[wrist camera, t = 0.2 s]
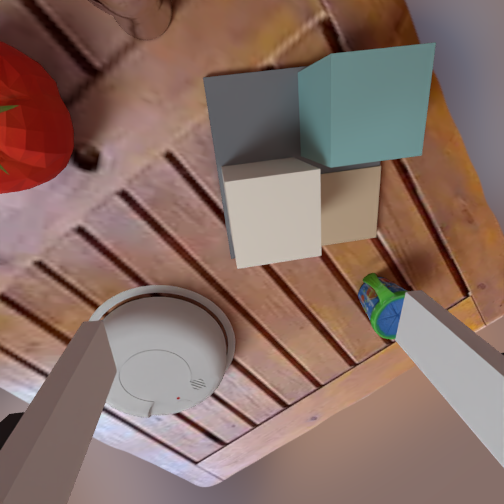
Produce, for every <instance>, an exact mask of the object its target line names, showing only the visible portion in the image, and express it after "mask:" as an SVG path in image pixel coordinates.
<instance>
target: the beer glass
mask: <svg viewBox="0 0 504 504" xmlns="http://www.w3.org/2000/svg"><path fill="white" fill-rule="evenodd" d="M88 1H89V2H90V3H91V4H93V5H94V6H95V7H97V8H99V9H100V10H102V11H104V12H105V13H107V14H109V15H112V16H113V17H114V19H115V20H116V22H117V23H118V25H119V26H120V27H121V28H122V29H123V30H124V31H125V32H126V33H127V34H129V35H130V36H132V37H134V38H137V39H140V40H152V39H155V38H157V37H159V36H161V35H162V34H163V33H164V32H165V31H166V29H167V28H168V26H169V23H170V21H171V17H172V1H171V0H88Z"/></svg>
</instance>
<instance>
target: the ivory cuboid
mask: <svg viewBox="0 0 504 504" xmlns="http://www.w3.org/2000/svg"><path fill="white" fill-rule="evenodd" d="M221 169H222V176H223V183H224V189H225V196H226V203H227V210H228V216H229V223H230V230H231V236H232V242H233V247H234V253H235V258H236V264H237V269H239V268H246V267H252V266H259V265H265V264H271V263H278V262H284V261H290V260H297V259H303V258H309V257H316V256H321V182H320V169H319V168H317V167H314V166H312V165H310V164H308V163H305V162H303V161H301V160H298V159H296V158H294V157H291V158H284V159H276V160H268V161H261V162H253V163H246V164H238V165H230V166H223V167H221Z"/></svg>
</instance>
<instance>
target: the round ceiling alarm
mask: <svg viewBox="0 0 504 504" xmlns="http://www.w3.org/2000/svg"><path fill="white" fill-rule="evenodd" d="M148 293H170V294H176V295H181V296H184V297H187V298H191V299H193V300H195V301H197V302H199V303H201V304H202V305H204V306H206V307H207V308H208V309H209V310H211V311H212V312H213V313H214V314H215V315H216V316H217V317H218V319H219V320H220V321H221V323H222V324H223V326H224V329H225V331H226V334H227V338H228V351H227V354H226V343H225V337H224V334H223V332H222V330H221V328H220V326H219V325H218V323H217V322H216V320H215V319H214V318H213V317H212V316H211V315H210V314H208V313H207V312H206V311H205V310H203V309H202V308H200V307H198V306H196V305H194V304H192V303H190V302H187V301H184V300H181V299H176V298H170V297H148V298H142V299H137V300H134V301H131V302H128V303H125V304H123V305H122V306H120V307H118V308H116V309H115V310H113V311H112V312H111V313H109V314H108V315H107V316H106V317H105V318H104V319H103V322H104V326H105V330H106V333H107V337H108V340H109V344H110V347H111V351H112V354H113V358H114V362H115V365H116V369H117V373H116V375H115V378H114V381H113V383H112V386H111V389H110V391H109V394H108V397H107V399H106V402H105V403H107V404H108V405H110V406H111V407H113V408H115V409H117V410H119V411H121V412H123V413H126V414H129V415H133V416H138V417H145V418H149V417H150V416H151V415H168V414H174V413H178V412H182V411H184V410H187V409H190V408H192V407H194V406H196V405H198V404H199V403H201V402H203V401H204V400H205V399H207V398H208V397H209V396H210V395H211V394H212V393H213V392H214V391H215V390H216V388H217V387H218V386H219V384H220V382H221V381H222V379H223V376H224V374H225V372H226V371H227V369H228V368H229V366H230V364H231V362H232V359H233V357H234V352H235V335H234V331H233V328H232V326H231V323H230V321H229V320H228V318H227V317H226V315H225V314H224V312H223V311H222V310H221V309H220V308H219V307H218V306H217V305H215V304H214V303H213V302H212V301H210V300H209V299H207V298H206V297H204V296H202V295H200V294H198V293H196V292H193V291H190V290H187V289H184V288H180V287H175V286H166V285H150V286H142V287H137V288H133V289H130V290H127V291H124V292H121V293H119V294H117V295H115V296H114V297H112V298H110V299H109V300H107V301H106V302H104V303H103V304H102V305H101V306H100V307H99V308H98V309H97V310H96V311H95V312H94V314H93V315H92V316H91V318H90V320H89V321H99V319H100V318H101V317H102V316H103V314H104V313H106V312H107V311H108V310H109V309H110V308H111V307H113V306H114V305H116V304H117V303H119V302H121V301H123V300H125V299H128V298H131V297H133V296H137V295H141V294H148Z"/></svg>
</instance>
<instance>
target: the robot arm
mask: <svg viewBox="0 0 504 504" xmlns="http://www.w3.org/2000/svg"><path fill="white" fill-rule="evenodd" d="M395 340H396V341H397V343H398V344H399V345H400V346H401V347H402V349H403V350H404V351H405V352H406V353H407V354H408V356H409V357H410V358H411V359H412V360H413V361H414V363H415V364H416V365H417V366H418V367H419V369H420V370H421V371H422V372H423V373H424V374H425V376H426V377H427V378H428V379H429V380H430V382H431V383H432V384H433V385H434V386H435V387H436V389H437V390H438V391H439V392H440V393H441V394H442V396H443V397H444V398H445V399H446V400H447V402H448V403H449V404H450V405H451V406H452V407H453V409H454V410H455V411H456V412H457V413H458V414H459V416H460V417H461V418H462V419H463V420H464V421H465V423H466V424H467V425H468V426H469V427H470V429H471V430H472V431H473V432H474V433H475V434H476V436H477V437H478V438H479V439H480V440H481V442H482V443H483V444H484V445H485V446H486V447H487V449H488V450H489V451H490V452H491V453H492V455H494V457H495V458H496V459H497V460H498V462H499V463H500V464H501V465H502V466H503V467H504V353H500V352H499V351H497V350H496V349H495V348H494V347H492V346H491V345H490V344H489V343H487V342H486V341H485V340H483V339H482V338H481V337H480V336H478V335H477V334H476V333H475V332H473V331H472V330H471V329H470V328H468V327H467V326H466V325H465V324H463V323H462V322H461V321H460V320H458V319H457V318H456V317H455V316H453V315H452V314H451V313H449V312H448V311H447V310H446V309H444V308H443V307H442V306H441V305H439V304H438V303H437V302H436V301H434V300H433V299H432V298H431V297H429V296H428V295H427V294H426V293H424V292H423V291H422V290H419V291H408V292H406V293H405V298H404V302H403V307H402V311H401V316H400V320H399V325H398V329H397V334H396V339H395ZM116 373H117V369H116V365H115V362H114V358H113V354H112V351H111V347H110V344H109V340H108V337H107V333H106V330H105V326H104V322H103V320H99V321H88V322H83V323H82V324H81V326H80V327H79V329H78V330H77V332H76V334H75V335H74V337H73V338H72V340H71V341H70V343H69V344H68V346H67V348H66V349H65V351H64V352H63V354H62V355H61V357H60V358H59V360H58V362H57V363H56V365H55V366H54V368H53V369H52V371H51V372H50V374H49V376H48V377H47V379H46V380H45V382H44V383H43V385H42V386H41V388H40V390H39V391H38V393H37V394H36V396H35V397H34V399H33V400H32V402H31V404H30V405H29V407H28V408H27V410H26V411H25V412H22V413H14V414H9V415H8V416H7V417H6V418H5V419H3V420H2V421H1V422H0V504H67V502H68V500H69V497H70V495H71V492H72V489H73V487H74V484H75V481H76V478H77V476H78V473H79V471H80V468H81V465H82V462H83V460H84V457H85V455H86V452H87V449H88V447H89V444H90V441H91V439H92V436H93V434H94V431H95V428H96V426H97V423H98V420H99V418H100V415H101V412H102V410H103V407H104V405H105V402H106V399H107V397H108V394H109V391H110V389H111V386H112V383H113V381H114V378H115V375H116Z"/></svg>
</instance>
